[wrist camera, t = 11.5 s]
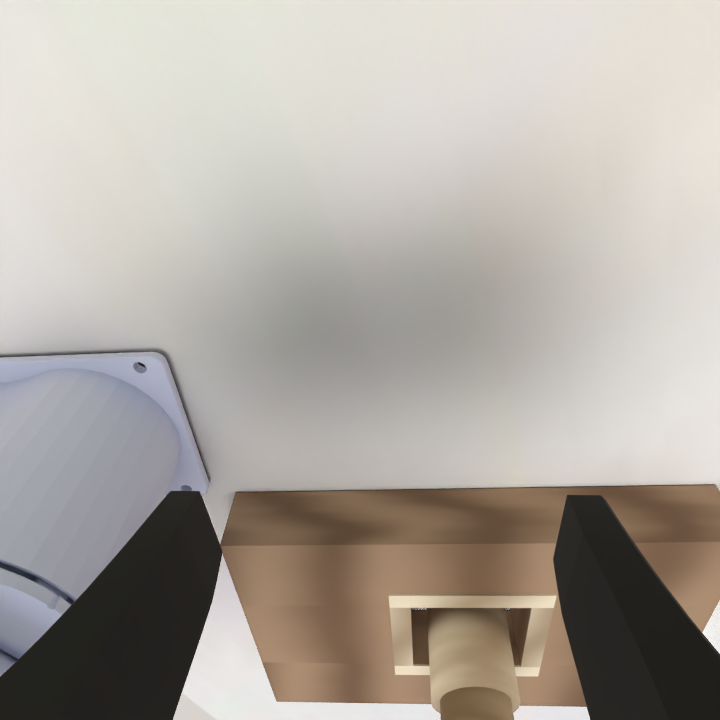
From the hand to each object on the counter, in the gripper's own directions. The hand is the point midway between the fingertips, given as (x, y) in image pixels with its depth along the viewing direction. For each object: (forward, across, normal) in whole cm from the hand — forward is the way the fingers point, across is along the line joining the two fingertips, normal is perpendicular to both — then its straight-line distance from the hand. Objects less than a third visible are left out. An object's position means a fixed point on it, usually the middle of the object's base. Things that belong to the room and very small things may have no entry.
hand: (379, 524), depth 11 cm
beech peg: (+10, -3, +18) cm, 21 cm away
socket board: (+10, -3, +18) cm, 21 cm away
